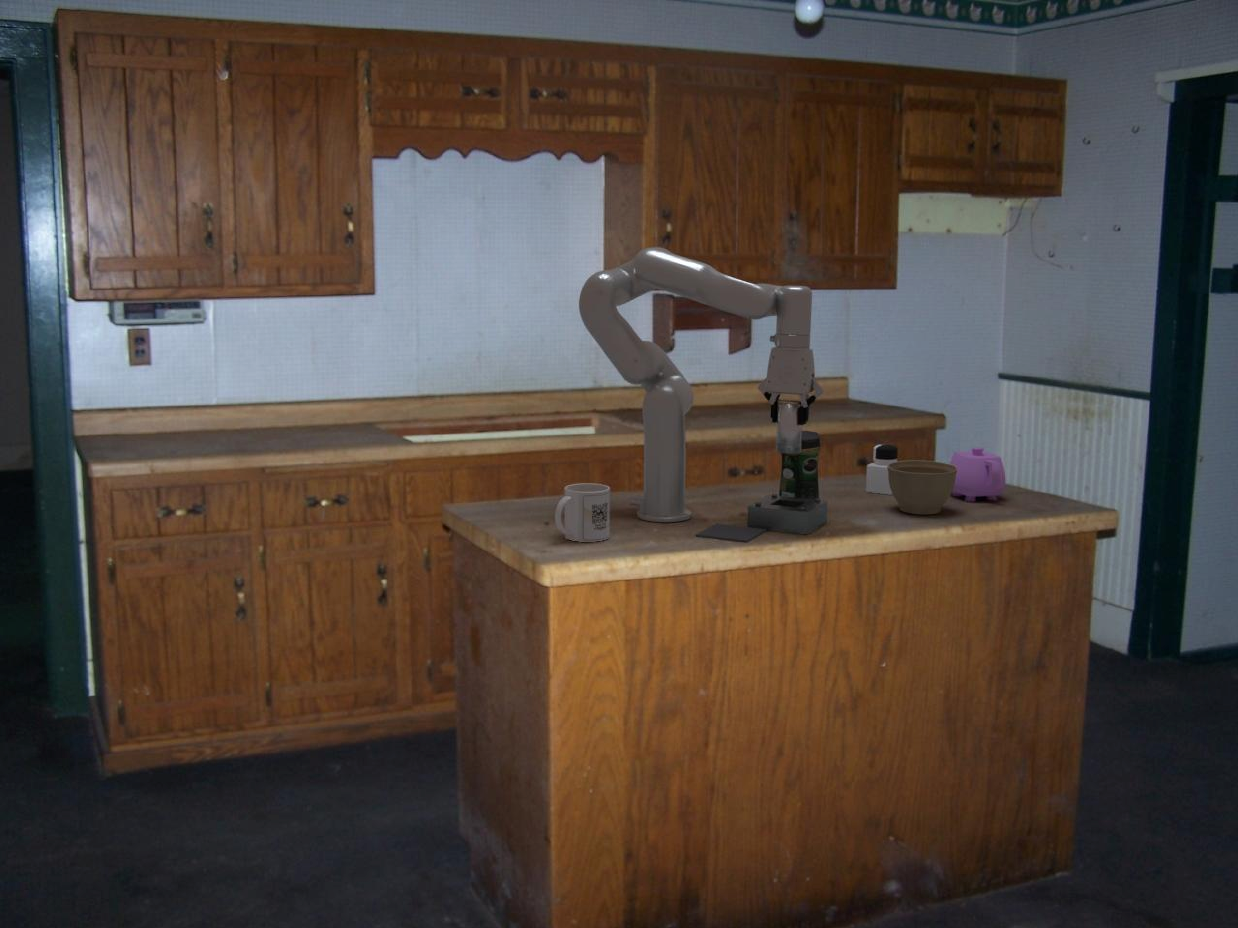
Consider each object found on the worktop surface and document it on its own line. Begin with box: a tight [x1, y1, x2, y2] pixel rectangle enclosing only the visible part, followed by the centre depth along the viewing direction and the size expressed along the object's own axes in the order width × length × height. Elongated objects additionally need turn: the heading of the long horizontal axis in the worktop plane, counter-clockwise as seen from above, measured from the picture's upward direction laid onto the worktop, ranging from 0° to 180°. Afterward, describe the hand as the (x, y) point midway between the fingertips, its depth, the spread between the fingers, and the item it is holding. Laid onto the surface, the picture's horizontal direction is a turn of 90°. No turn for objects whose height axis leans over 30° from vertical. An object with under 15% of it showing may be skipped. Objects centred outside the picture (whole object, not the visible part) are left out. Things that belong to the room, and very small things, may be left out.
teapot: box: [949, 446, 1006, 502], centre depth 322 cm, size 20×12×13 cm, turn 15°
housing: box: [746, 493, 829, 535], centre depth 290 cm, size 14×14×6 cm
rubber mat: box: [695, 523, 768, 543], centre depth 282 cm, size 12×12×1 cm
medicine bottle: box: [865, 443, 899, 496], centre depth 328 cm, size 7×7×12 cm
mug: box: [554, 482, 611, 543], centre depth 276 cm, size 10×12×11 cm
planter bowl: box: [887, 459, 957, 516], centre depth 305 cm, size 16×16×11 cm
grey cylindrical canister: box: [775, 398, 803, 454], centre depth 287 cm, size 6×6×12 cm
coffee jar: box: [778, 430, 821, 499], centre depth 308 cm, size 10×8×19 cm
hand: (789, 422), depth 287 cm, fingers closed on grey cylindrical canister, 5 cm apart
